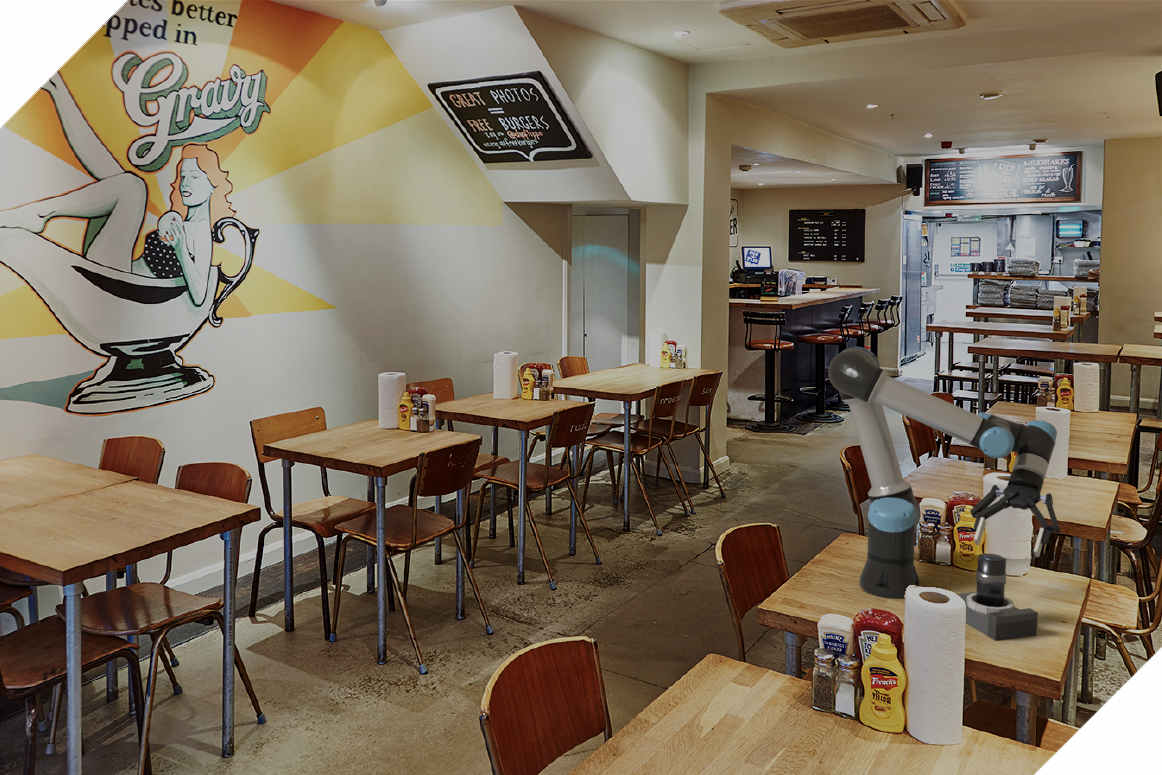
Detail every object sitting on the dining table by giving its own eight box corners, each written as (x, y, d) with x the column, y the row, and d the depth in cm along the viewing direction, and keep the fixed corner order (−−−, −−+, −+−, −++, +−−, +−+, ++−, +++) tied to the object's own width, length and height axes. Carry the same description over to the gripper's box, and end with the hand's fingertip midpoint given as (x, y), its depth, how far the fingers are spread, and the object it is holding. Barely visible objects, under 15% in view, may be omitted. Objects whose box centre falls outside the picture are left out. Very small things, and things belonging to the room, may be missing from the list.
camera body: (944, 610, 212) (945, 589, 211) (983, 606, 214) (984, 584, 213) (995, 640, 194) (996, 617, 194) (1036, 635, 197) (1037, 612, 196)
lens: (968, 602, 206) (971, 553, 204) (991, 600, 208) (994, 551, 206) (987, 612, 200) (989, 562, 198) (1010, 610, 201) (1013, 560, 200)
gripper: (1085, 492, 209) (1065, 567, 201) (979, 476, 226) (956, 544, 218) (1081, 475, 205) (1060, 551, 196) (973, 460, 222) (949, 530, 213)
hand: (1005, 548), depth 207 cm, fingers open, 13 cm apart
